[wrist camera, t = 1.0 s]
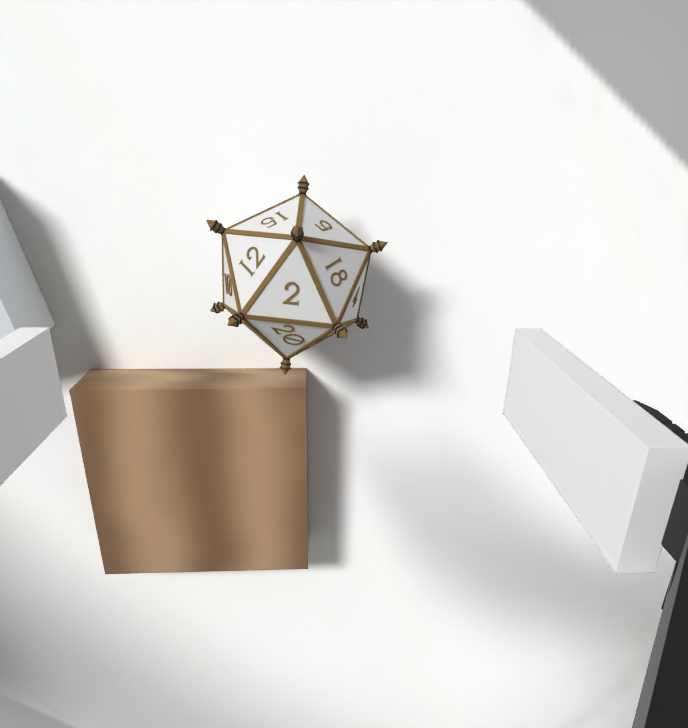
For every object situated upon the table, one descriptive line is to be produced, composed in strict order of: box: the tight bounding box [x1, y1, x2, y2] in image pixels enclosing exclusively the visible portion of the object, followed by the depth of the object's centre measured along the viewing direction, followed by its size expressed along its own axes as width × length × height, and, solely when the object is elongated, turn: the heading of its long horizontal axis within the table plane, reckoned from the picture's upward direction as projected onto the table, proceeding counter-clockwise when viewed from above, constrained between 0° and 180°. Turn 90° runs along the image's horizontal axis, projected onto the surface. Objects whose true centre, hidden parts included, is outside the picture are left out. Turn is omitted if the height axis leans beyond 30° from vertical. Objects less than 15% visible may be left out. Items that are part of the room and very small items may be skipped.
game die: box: [206, 175, 388, 375], centre depth 26 cm, size 9×8×10 cm
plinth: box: [69, 368, 308, 574], centre depth 33 cm, size 13×13×3 cm
